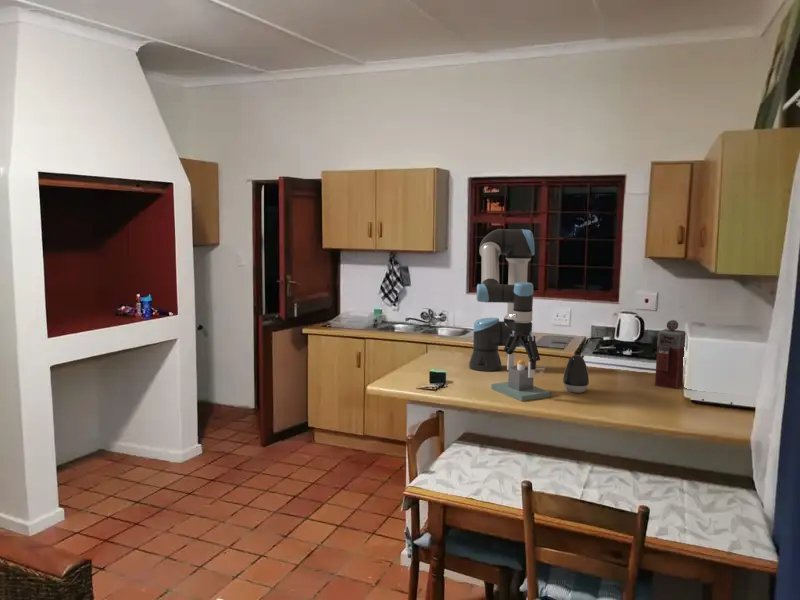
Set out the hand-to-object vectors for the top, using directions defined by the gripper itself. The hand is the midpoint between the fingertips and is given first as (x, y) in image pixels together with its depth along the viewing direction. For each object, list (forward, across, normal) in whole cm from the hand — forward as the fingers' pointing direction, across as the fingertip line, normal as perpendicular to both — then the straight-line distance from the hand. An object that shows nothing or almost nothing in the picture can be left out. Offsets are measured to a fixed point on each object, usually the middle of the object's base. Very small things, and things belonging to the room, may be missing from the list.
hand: (520, 373), depth 260 cm
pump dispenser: (+8, +8, +22) cm, 25 cm away
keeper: (+8, 0, 0) cm, 8 cm away
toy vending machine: (+8, +18, +64) cm, 67 cm away
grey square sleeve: (+6, 0, 0) cm, 6 cm away
